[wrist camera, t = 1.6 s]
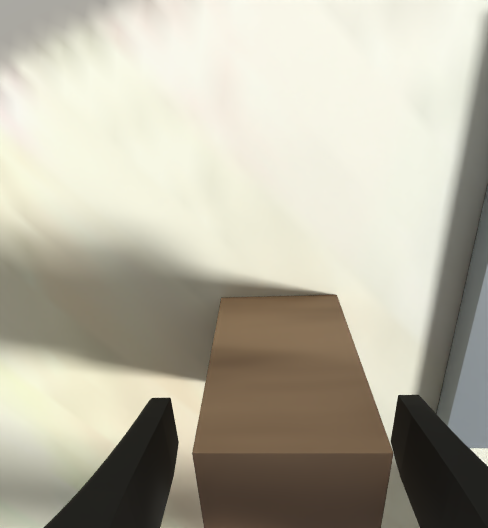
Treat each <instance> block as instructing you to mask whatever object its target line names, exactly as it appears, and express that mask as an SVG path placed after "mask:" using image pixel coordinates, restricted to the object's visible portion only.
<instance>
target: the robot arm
mask: <svg viewBox="0 0 488 528" xmlns="http://www.w3.org/2000/svg"><path fill="white" fill-rule="evenodd" d="M178 443H179V442H178V436H177V431H176V425H175V420H174V414H173V409H172V403H171V398H152V399H150V400H149V402H148V403H147V405H146V406H145V408H144V409H143V410H142V412H141V413H140V415H139V416H138V418H137V419H136V420H135V422H134V423H133V425H132V426H131V427H130V429H129V430H128V432H127V433H126V434H125V436H124V437H123V438H122V440H121V441H120V442H119V444H118V445H117V446H116V447H115V449H114V450H113V451H112V453H111V454H110V455H109V456H108V458H107V459H106V460H105V461H104V463H103V464H102V465H101V466H100V467H99V469H98V470H97V471H96V472H95V473H94V475H93V476H92V477H91V478H90V479H89V480H88V482H87V483H86V484H85V485H84V486H83V487H82V488H81V490H80V491H79V492H78V493H77V494H76V495H75V496H74V497H73V498H72V499H71V500H70V502H69V503H68V504H67V505H66V506H65V507H64V508H63V509H62V510H61V511H60V512H59V513H58V514H57V515H56V516H55V517H54V518H53V519H52V520H51V521H50V522H49V523H48V524H47V525H46V526H45V527H44V528H160V526H161V522H162V518H163V514H164V511H165V507H166V503H167V499H168V495H169V492H170V488H171V484H172V480H173V476H174V470H175V464H176V457H177V450H178ZM391 444H392V448H393V452H394V456H395V460H396V463H397V467H398V470H399V474H400V477H401V480H402V482H403V485H404V487H405V490H406V493H407V495H408V498H409V500H410V503H411V505H412V508H413V511H414V513H415V516H416V518H417V521H418V523H419V526H420V528H488V466H487V465H486V464H485V463H484V462H483V461H481V460H480V459H479V458H478V457H477V456H476V455H475V454H474V453H473V452H472V451H471V450H470V449H469V448H468V447H467V446H466V445H465V444H464V443H463V442H462V441H461V440H460V439H459V437H458V436H457V435H456V434H455V433H454V432H453V431H452V430H451V429H450V428H449V427H448V426H447V425H446V424H445V423H444V422H443V421H442V420H441V419H440V417H439V416H438V415H437V414H436V413H435V412H434V411H433V410H432V409H431V408H430V407H429V406H428V404H427V403H426V402H425V401H424V400H423V399H422V398H421V397H420V396H419V395H398V400H397V406H396V412H395V418H394V425H393V431H392V437H391Z"/></svg>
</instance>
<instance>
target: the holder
mask: <svg viewBox="0 0 488 528" xmlns="http://www.w3.org/2000/svg"><path fill="white" fill-rule="evenodd" d="M436 414H437V415H438V416H439V417H440V419H441V420H442V421H443V422H444V423H445V424H446V425H447V426H448V427H449V428H450V429H451V430H452V431H453V432H454V433H455V434H456V435H457V436H458V437H459V439H460V440H461V441H462V442H463V443H464V444H465V445H466V446H467V447H468V448H488V186H487V190H486V195H485V199H484V204H483V208H482V213H481V217H480V222H479V226H478V231H477V235H476V240H475V244H474V248H473V253H472V257H471V262H470V266H469V271H468V275H467V280H466V284H465V289H464V293H463V298H462V302H461V306H460V311H459V315H458V320H457V324H456V329H455V333H454V338H453V342H452V347H451V351H450V355H449V360H448V364H447V369H446V373H445V378H444V382H443V387H442V391H441V396H440V400H439V405H438V409H437V413H436Z"/></svg>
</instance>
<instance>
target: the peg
mask: <svg viewBox="0 0 488 528" xmlns="http://www.w3.org/2000/svg"><path fill="white" fill-rule="evenodd" d="M192 454H193V461H194V467H195V473H196V479H197V486H198V492H199V498H200V504H201V510H202V517H203V523H204V528H381V523H382V517H383V511H384V505H385V500H386V494H387V488H388V482H389V476H390V470H391V464H392V458H393V451H392V448H391V445H390V443H389V440H388V437H387V434H386V431H385V429H384V426H383V423H382V420H381V418H380V415H379V412H378V409H377V406H376V404H375V401H374V398H373V395H372V392H371V390H370V387H369V384H368V381H367V378H366V376H365V373H364V370H363V367H362V364H361V362H360V359H359V356H358V353H357V350H356V348H355V345H354V342H353V339H352V336H351V334H350V331H349V328H348V325H347V322H346V320H345V317H344V314H343V311H342V308H341V306H340V303H339V300H338V297H337V295H308V296H267V297H226V298H221V302H220V308H219V313H218V318H217V324H216V329H215V334H214V340H213V345H212V350H211V356H210V361H209V367H208V372H207V377H206V383H205V388H204V393H203V399H202V404H201V409H200V415H199V420H198V426H197V431H196V436H195V442H194V447H193V452H192Z"/></svg>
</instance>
